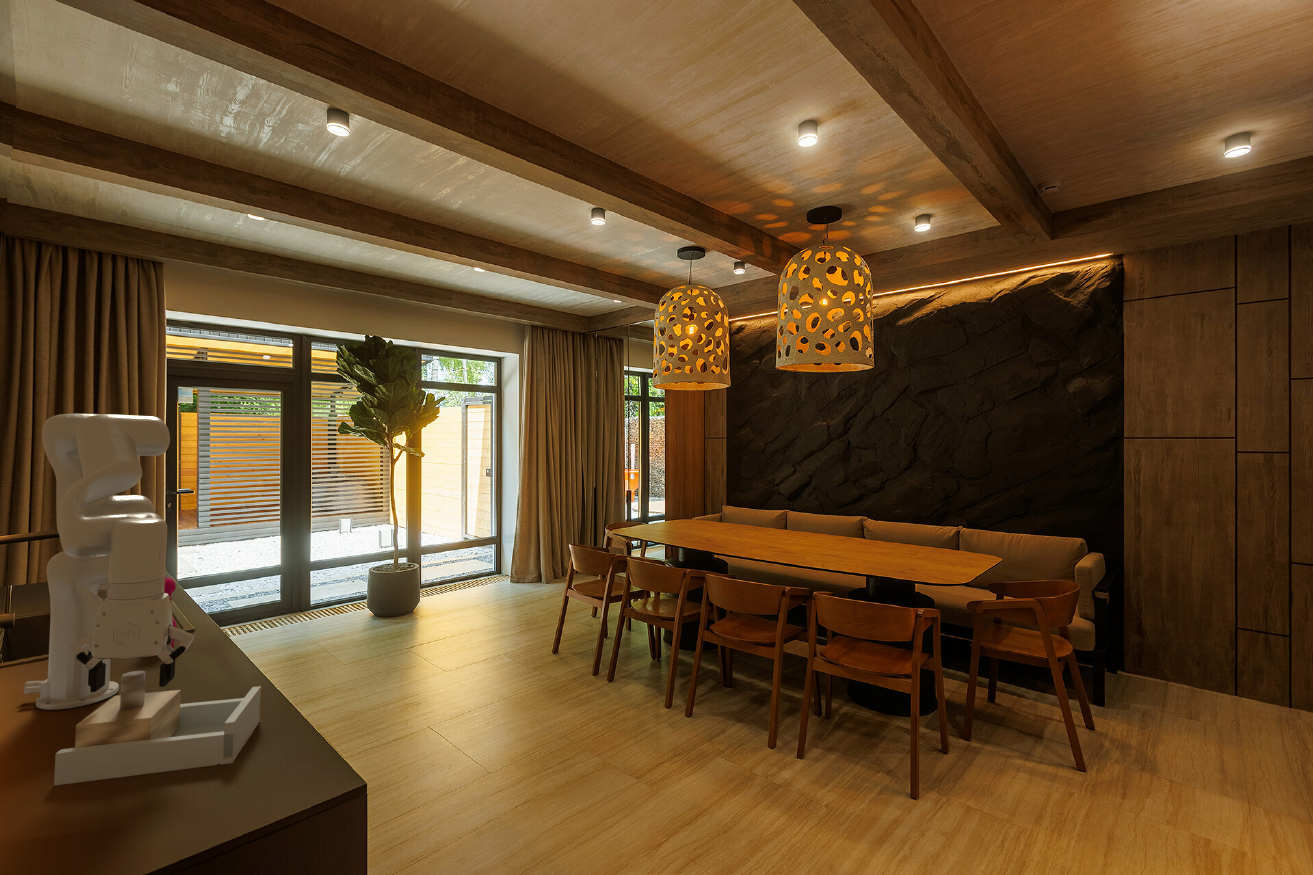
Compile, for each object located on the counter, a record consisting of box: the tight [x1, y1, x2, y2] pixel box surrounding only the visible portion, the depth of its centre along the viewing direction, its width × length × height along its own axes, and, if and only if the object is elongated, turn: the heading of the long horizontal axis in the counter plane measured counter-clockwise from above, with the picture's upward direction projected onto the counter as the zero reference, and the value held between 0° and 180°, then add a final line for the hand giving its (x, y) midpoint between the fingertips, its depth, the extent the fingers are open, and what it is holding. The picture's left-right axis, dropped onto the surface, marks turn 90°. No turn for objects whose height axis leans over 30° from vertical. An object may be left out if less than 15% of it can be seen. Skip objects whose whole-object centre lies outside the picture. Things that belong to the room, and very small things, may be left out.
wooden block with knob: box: [74, 670, 182, 748], centre depth 105 cm, size 10×12×13 cm
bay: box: [53, 685, 262, 786], centre depth 106 cm, size 24×16×7 cm, turn 110°
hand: (132, 686), depth 105 cm, fingers open, 9 cm apart
